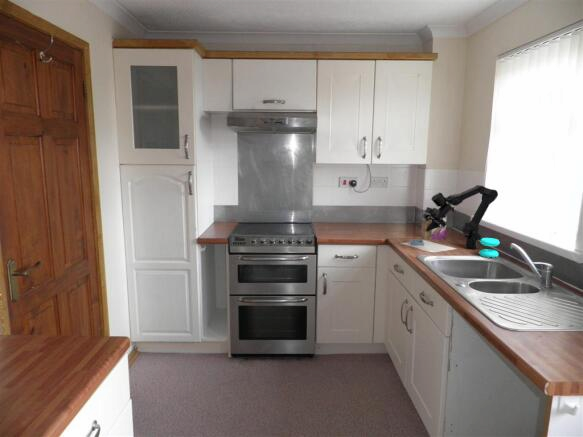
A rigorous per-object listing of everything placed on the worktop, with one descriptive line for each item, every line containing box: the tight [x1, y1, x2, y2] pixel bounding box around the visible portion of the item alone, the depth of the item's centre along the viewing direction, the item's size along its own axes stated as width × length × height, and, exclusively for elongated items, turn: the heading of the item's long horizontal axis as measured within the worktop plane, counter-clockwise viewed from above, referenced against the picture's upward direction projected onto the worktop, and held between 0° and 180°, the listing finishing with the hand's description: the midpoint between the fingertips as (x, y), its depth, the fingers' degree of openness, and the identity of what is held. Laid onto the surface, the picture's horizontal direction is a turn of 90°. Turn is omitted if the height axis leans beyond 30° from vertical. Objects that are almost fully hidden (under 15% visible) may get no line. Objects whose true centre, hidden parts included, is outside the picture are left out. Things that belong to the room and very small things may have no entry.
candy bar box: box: [431, 215, 448, 240], centre depth 275 cm, size 11×5×16 cm, turn 74°
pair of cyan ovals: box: [479, 237, 501, 259], centre depth 229 cm, size 10×10×10 cm
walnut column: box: [420, 220, 432, 241], centre depth 242 cm, size 4×4×11 cm
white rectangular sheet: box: [400, 239, 457, 253], centre depth 250 cm, size 21×27×1 cm
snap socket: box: [409, 239, 424, 246], centre depth 255 cm, size 8×8×2 cm
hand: (424, 230), depth 241 cm, fingers closed on walnut column, 4 cm apart
